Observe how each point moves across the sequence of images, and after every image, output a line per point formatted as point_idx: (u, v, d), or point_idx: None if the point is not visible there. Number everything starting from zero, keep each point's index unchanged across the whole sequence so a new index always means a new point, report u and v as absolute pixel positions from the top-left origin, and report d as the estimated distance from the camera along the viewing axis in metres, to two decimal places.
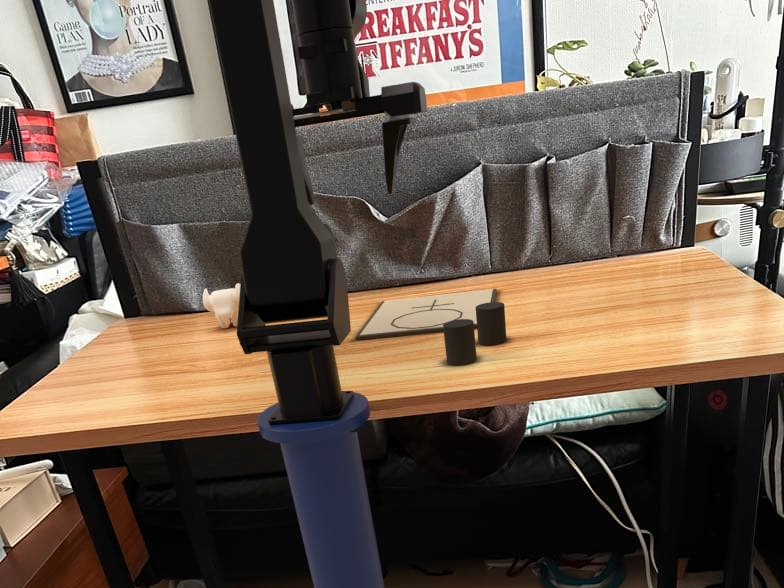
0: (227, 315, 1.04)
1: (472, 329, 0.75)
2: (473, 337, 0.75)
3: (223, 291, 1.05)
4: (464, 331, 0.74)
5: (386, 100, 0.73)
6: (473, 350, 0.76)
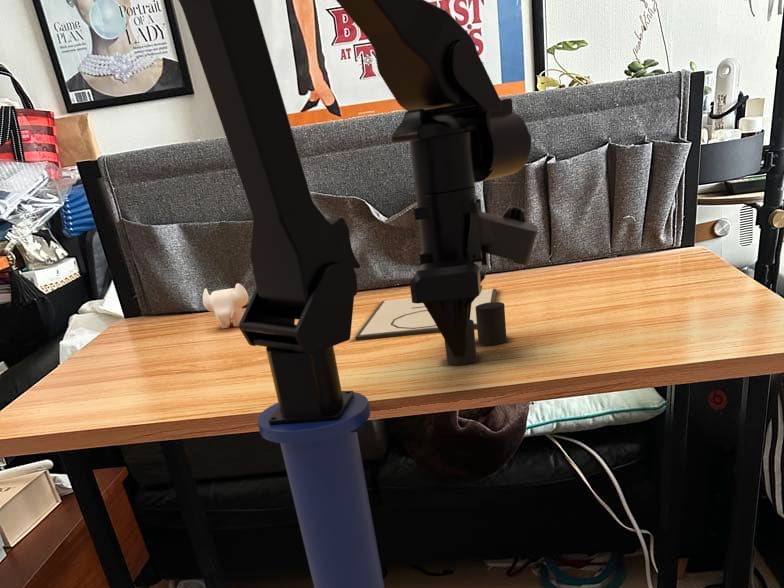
0: (227, 315, 1.04)
1: (472, 329, 0.75)
2: (473, 337, 0.75)
3: (223, 291, 1.05)
4: None
5: None
6: (473, 350, 0.76)
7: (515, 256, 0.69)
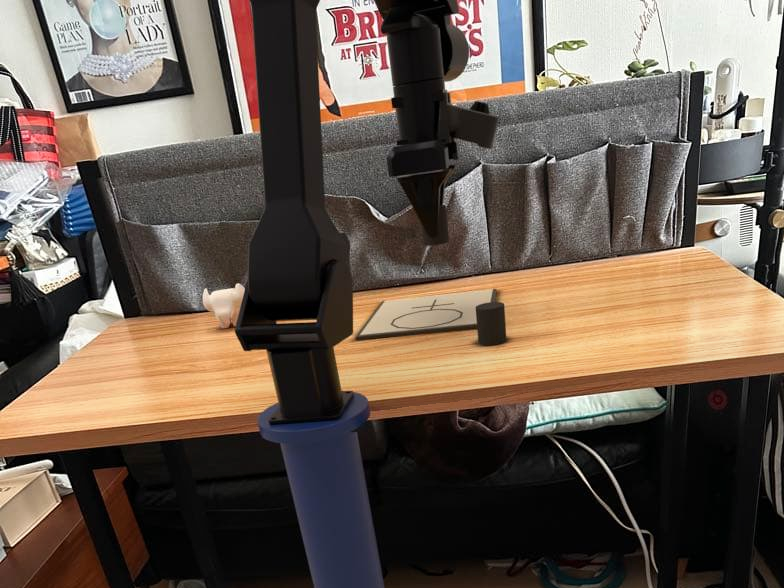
0: (227, 315, 1.04)
1: (444, 212, 0.85)
2: (445, 220, 0.86)
3: (223, 291, 1.05)
4: None
5: None
6: (446, 232, 0.86)
7: (479, 140, 0.79)
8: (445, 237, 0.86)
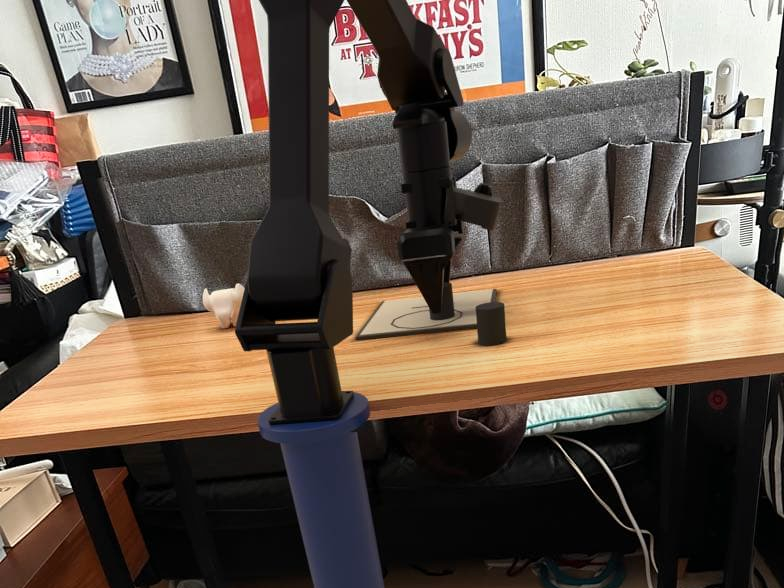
0: (227, 315, 1.04)
1: (450, 290, 0.91)
2: (451, 297, 0.91)
3: (223, 291, 1.05)
4: (443, 291, 0.90)
5: None
6: (451, 308, 0.92)
7: (483, 223, 0.85)
8: (451, 312, 0.92)
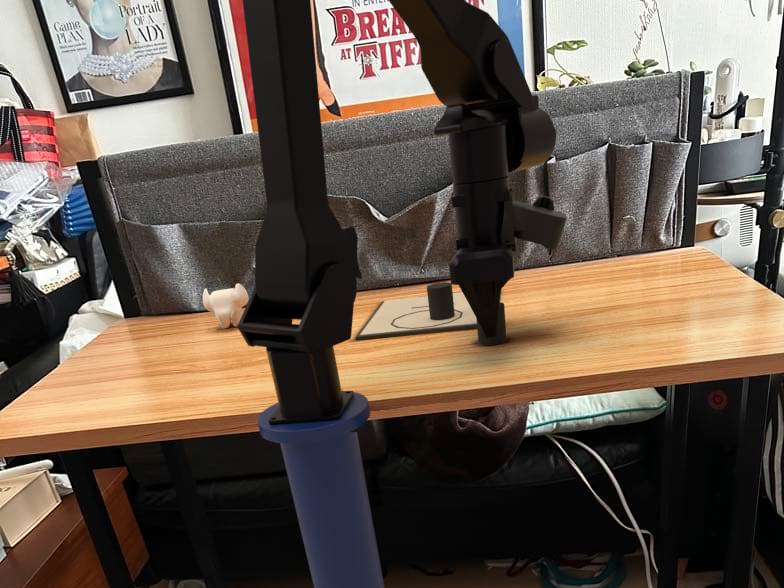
0: (227, 315, 1.04)
1: (450, 290, 0.91)
2: (451, 297, 0.91)
3: (223, 291, 1.05)
4: (443, 291, 0.90)
5: None
6: (451, 308, 0.92)
7: (546, 241, 0.74)
8: (451, 312, 0.92)
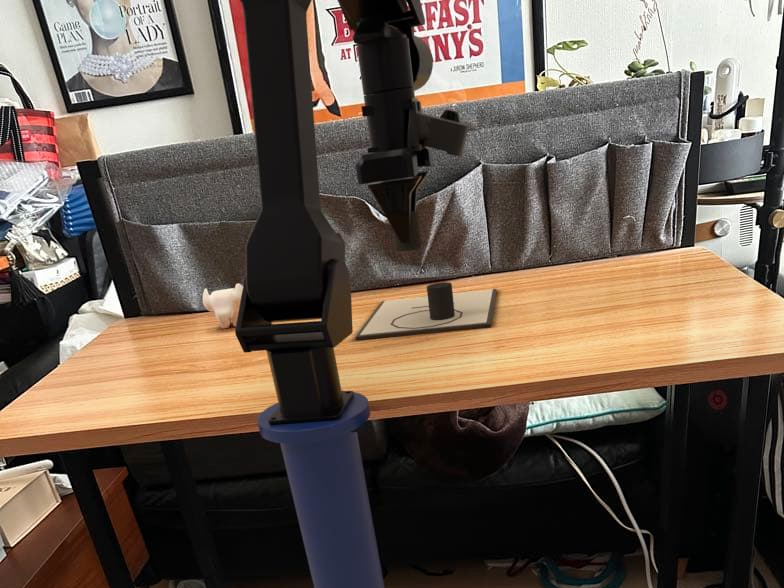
0: (227, 315, 1.04)
1: (450, 290, 0.91)
2: (451, 297, 0.91)
3: (223, 291, 1.05)
4: (443, 291, 0.90)
5: None
6: (451, 308, 0.92)
7: (448, 148, 0.81)
8: (451, 312, 0.92)
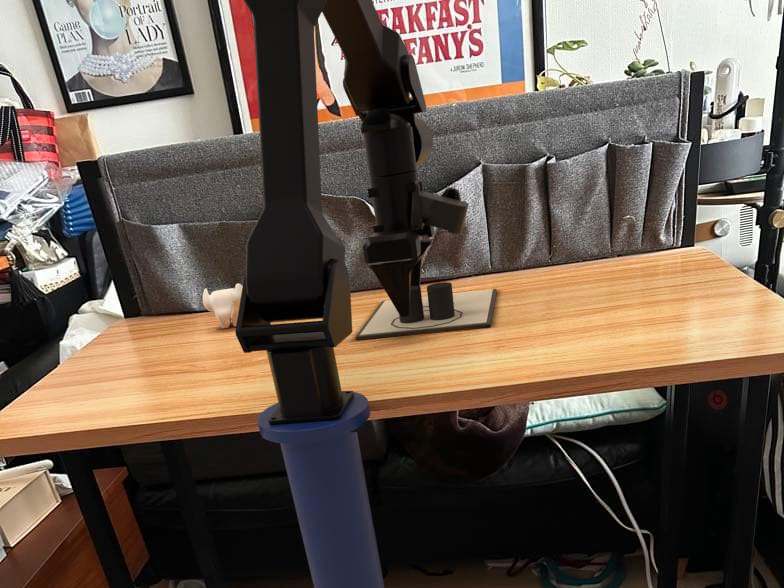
0: (227, 315, 1.04)
1: (450, 290, 0.91)
2: (451, 297, 0.91)
3: (223, 291, 1.05)
4: (443, 291, 0.90)
5: None
6: (451, 308, 0.92)
7: (449, 227, 0.86)
8: (451, 312, 0.92)
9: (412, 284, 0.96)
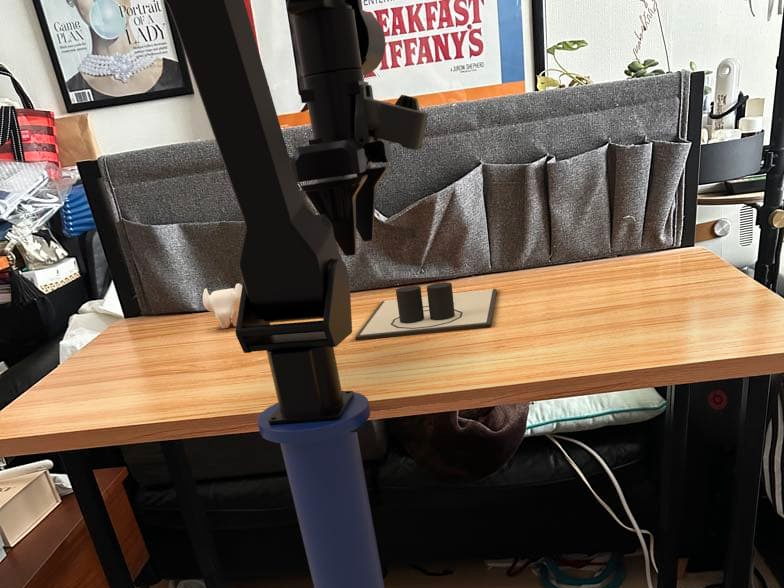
0: (227, 315, 1.04)
1: (450, 290, 0.91)
2: (451, 297, 0.91)
3: (223, 291, 1.05)
4: (443, 291, 0.90)
5: None
6: (451, 308, 0.92)
7: (403, 140, 0.68)
8: (451, 312, 0.92)
9: (364, 221, 0.79)
